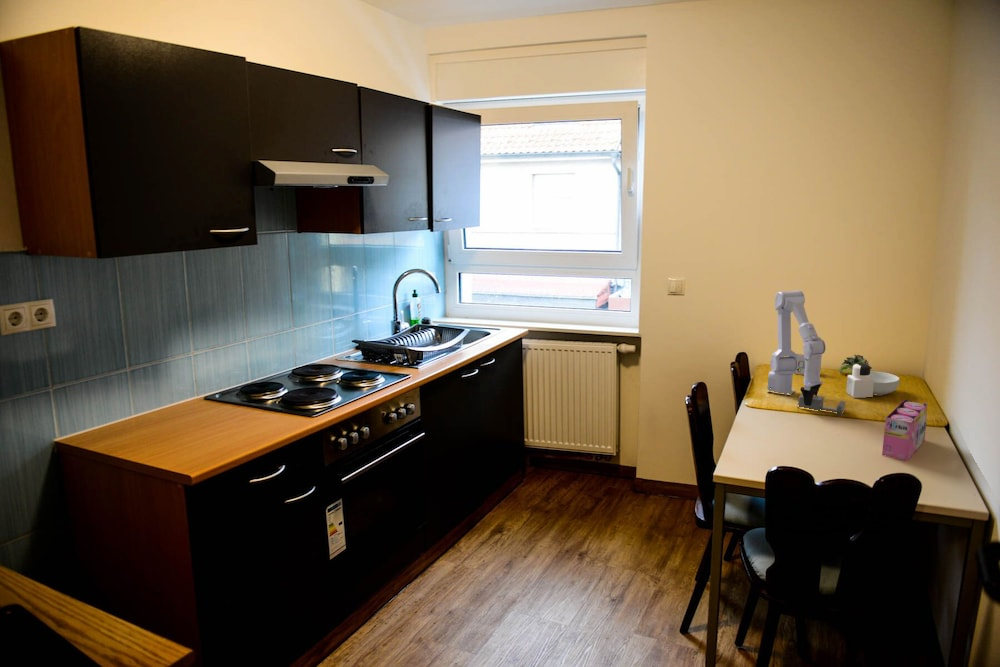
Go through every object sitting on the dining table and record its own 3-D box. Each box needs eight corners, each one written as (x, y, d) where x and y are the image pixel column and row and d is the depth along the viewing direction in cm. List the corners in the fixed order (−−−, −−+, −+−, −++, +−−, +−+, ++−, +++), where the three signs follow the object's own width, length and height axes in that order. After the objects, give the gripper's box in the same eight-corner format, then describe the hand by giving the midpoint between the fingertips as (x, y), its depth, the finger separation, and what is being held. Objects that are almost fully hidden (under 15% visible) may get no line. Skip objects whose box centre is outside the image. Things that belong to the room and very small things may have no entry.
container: (864, 392, 300) (867, 362, 297) (872, 397, 293) (875, 367, 290) (845, 392, 301) (848, 362, 298) (853, 398, 293) (855, 367, 290)
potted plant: (856, 384, 328) (874, 364, 324) (855, 386, 318) (875, 366, 315) (835, 368, 332) (853, 348, 328) (834, 370, 322) (853, 350, 318)
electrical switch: (792, 373, 329) (794, 354, 327) (795, 372, 333) (796, 352, 331) (813, 377, 323) (815, 356, 322) (816, 375, 327) (818, 355, 326)
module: (798, 408, 284) (799, 395, 283) (801, 405, 288) (802, 391, 287) (819, 412, 279) (820, 398, 278) (822, 408, 283) (823, 395, 282)
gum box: (901, 434, 255) (904, 398, 252) (926, 439, 250) (930, 402, 247) (881, 455, 238) (885, 417, 235) (907, 461, 233) (911, 422, 230)
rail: (795, 409, 284) (796, 399, 283) (800, 404, 289) (800, 394, 288) (840, 416, 274) (841, 406, 273) (844, 411, 280) (845, 401, 279)
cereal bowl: (874, 384, 310) (875, 368, 308) (907, 395, 295) (909, 379, 293) (843, 389, 305) (845, 373, 303) (875, 401, 289) (877, 384, 288)
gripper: (819, 376, 272) (816, 409, 275) (827, 366, 283) (825, 399, 287) (799, 373, 276) (797, 406, 279) (808, 364, 287) (806, 396, 291)
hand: (810, 402), depth 283 cm, fingers open, 7 cm apart
